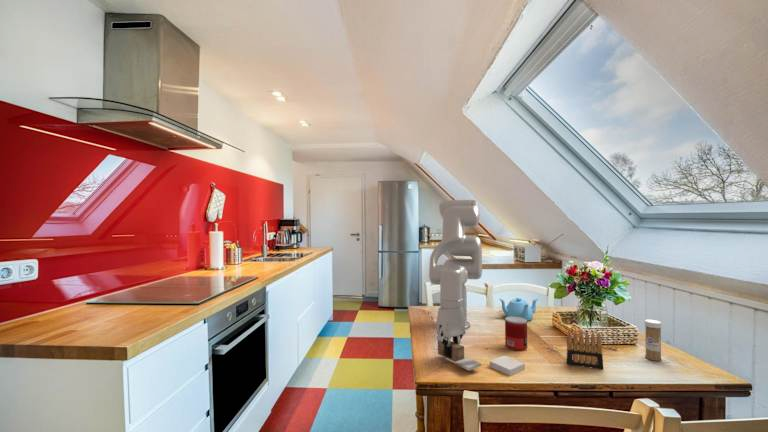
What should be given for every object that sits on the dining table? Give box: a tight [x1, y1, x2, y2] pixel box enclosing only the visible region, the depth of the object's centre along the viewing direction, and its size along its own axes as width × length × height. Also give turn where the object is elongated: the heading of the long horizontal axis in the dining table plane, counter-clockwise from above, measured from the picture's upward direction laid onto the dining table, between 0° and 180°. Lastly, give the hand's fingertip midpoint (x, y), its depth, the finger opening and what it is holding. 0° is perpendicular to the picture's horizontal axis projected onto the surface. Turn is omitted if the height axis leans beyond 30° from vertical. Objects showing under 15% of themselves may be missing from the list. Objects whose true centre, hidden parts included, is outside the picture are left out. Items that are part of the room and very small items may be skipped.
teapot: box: [499, 297, 539, 322], centre depth 167 cm, size 15×15×10 cm
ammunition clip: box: [566, 329, 604, 370], centre depth 114 cm, size 11×2×12 cm, turn 69°
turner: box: [437, 339, 482, 371], centre depth 116 cm, size 16×6×5 cm, turn 33°
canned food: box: [504, 316, 528, 352], centre depth 130 cm, size 8×8×11 cm
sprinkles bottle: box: [644, 319, 662, 362], centre depth 119 cm, size 5×5×14 cm
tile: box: [489, 355, 526, 376], centre depth 112 cm, size 2×8×8 cm
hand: (451, 354), depth 118 cm, fingers closed on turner, 3 cm apart
